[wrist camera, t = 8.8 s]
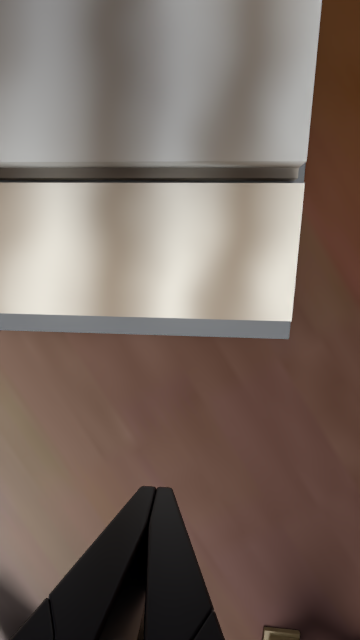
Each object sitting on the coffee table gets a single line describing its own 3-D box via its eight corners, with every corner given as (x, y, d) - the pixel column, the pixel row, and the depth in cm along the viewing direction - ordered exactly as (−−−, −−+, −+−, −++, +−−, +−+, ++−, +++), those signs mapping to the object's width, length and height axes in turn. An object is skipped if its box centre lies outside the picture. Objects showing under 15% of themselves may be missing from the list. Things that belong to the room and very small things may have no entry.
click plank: (293, 190, 17) (304, 183, 15) (282, 314, 18) (291, 321, 17) (-20, 189, 18) (-44, 182, 16) (-6, 307, 19) (-27, 312, 18)
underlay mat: (315, 15, 16) (320, 5, 15) (286, 336, 19) (288, 338, 19) (-40, 25, 17) (-49, 17, 16) (-5, 327, 20) (-11, 329, 20)
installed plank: (308, 18, 15) (323, -13, 13) (294, 180, 17) (305, 172, 15) (-38, 28, 16) (-67, 1, 14) (-21, 180, 18) (-45, 172, 16)
